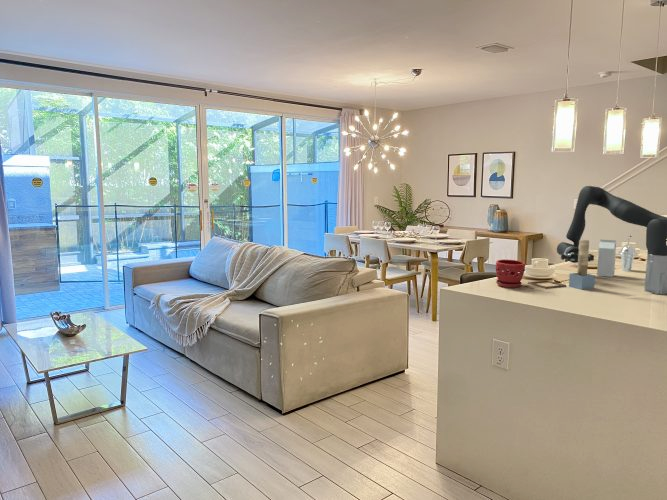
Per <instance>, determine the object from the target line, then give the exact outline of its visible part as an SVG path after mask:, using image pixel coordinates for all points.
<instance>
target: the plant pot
mask: <svg viewBox="0 0 667 500" xmlns="http://www.w3.org/2000/svg"><path fill="white" fill-rule="evenodd" d="M525 269H526V263H525V262H524V261H520V260H515V259H497V260H496V261H495V274H496V275H495V276H496V277H497V279H496V281H495V283H496V285H498V286H500V287H504V288H513V289H514V288H519V287H521V286H522V284H523V283H522V282H521V281H522V280H523V277H524V273H525Z"/></svg>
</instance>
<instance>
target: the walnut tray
mask: <svg viewBox="0 0 667 500" xmlns="http://www.w3.org/2000/svg"><path fill="white" fill-rule="evenodd" d="M541 283H550V284H553V285H547V286H545V285H542V284H541ZM527 285H530V286H534V287H538V288H541V289H545V290H547V289H556V288H566V287H567V284H564V283H561V282H556V281H552V280H549V279H548V280H545V279H544V280H536V281H527Z"/></svg>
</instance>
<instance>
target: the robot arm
mask: <svg viewBox="0 0 667 500" xmlns="http://www.w3.org/2000/svg"><path fill="white" fill-rule="evenodd" d="M589 205H593V206H599V207H602V208H604V209H607V210H608V211H609V212H610V214H612V216H613V217H615V218H617V219H619V220H621V221H623V222H625V223H627V224H632V225H635V226H640V227H645V228H646V232H645V233H646V235H645V246H646V250H647V256H646V264H645V265H646V267H645V268H646V269H645V280H644V292H647V293H652V294H656V295H667V216H664V215H660V214H657V213H654V212H653V211H650V210H648V209H646V208H644V207H642V206H640V205H637V204H636V203H634V202H631V201H630V200H626V199H624V198H621V197H619V196H616V195H613V194H612V193H610V192H608V191H607V190H605V189H604V188H602V187H599V186H592V185H586V186H583V187H582V188H581V190H580V192H579V193H578V197H577V201H576V206H575V210H574V214H573V218H572V221H571V223H570V226H569V227H568V230H567V233H566V235H565V236H566V239H568V241H571V242H572V243H573V244H571V243H568V242H564V241H561V242H560V243H558V245H557V246H556V253H557V254H558V255H560V259H561V260H563V261H564V260H566V261H569V262H570V263H573V264H578V256H579V240H582V236H583V234H584V231H585V230H586V212H587V208H588V207H589ZM593 261H595V255H593V254H592V253H588V263H589V262H590V263H591V262H593Z"/></svg>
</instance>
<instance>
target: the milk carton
mask: <svg viewBox="0 0 667 500" xmlns="http://www.w3.org/2000/svg"><path fill="white" fill-rule="evenodd" d="M616 242H617V240H614V239H600V241H599V245H598V253H597V265H596V266H597V267H596V276H599V277H608V278H613V277H614V275H615V269H616V268H615V266H616V254H617V243H616Z"/></svg>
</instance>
